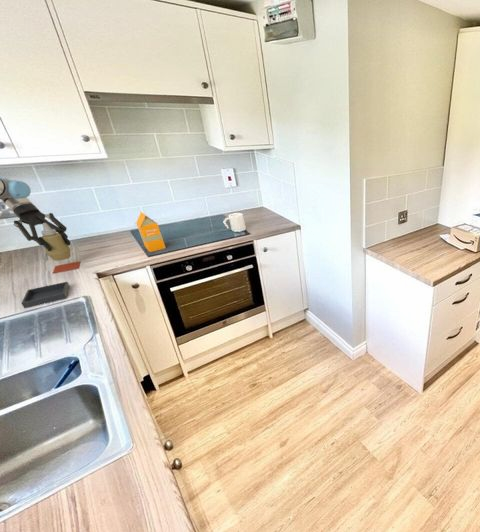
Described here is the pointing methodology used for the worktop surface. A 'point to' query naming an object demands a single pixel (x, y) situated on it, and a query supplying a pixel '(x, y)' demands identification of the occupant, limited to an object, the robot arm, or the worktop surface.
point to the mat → (66, 267)
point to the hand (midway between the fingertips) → (59, 246)
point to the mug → (236, 222)
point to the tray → (46, 294)
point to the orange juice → (150, 233)
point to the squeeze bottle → (55, 244)
